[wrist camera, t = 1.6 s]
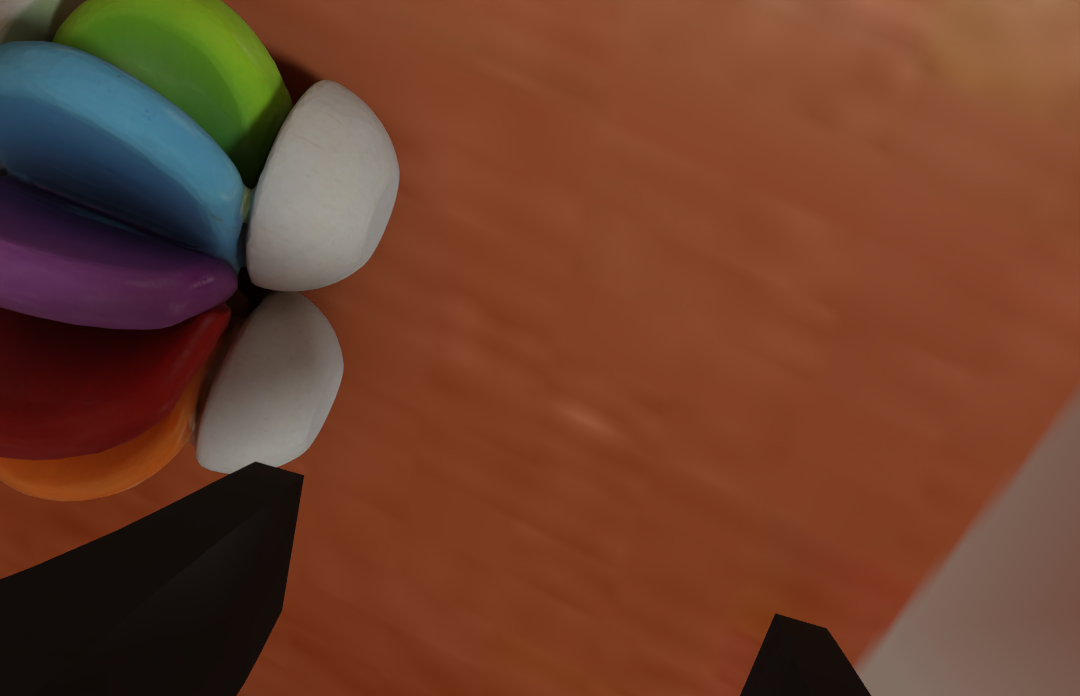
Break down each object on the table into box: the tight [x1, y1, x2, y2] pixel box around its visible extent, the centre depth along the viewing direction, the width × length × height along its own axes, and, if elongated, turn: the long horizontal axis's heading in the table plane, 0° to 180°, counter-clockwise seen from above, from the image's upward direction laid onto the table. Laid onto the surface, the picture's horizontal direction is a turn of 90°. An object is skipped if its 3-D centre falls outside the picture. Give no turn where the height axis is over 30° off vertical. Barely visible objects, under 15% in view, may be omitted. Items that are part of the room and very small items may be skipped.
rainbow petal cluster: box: [0, 0, 399, 501], centre depth 17 cm, size 8×10×7 cm
